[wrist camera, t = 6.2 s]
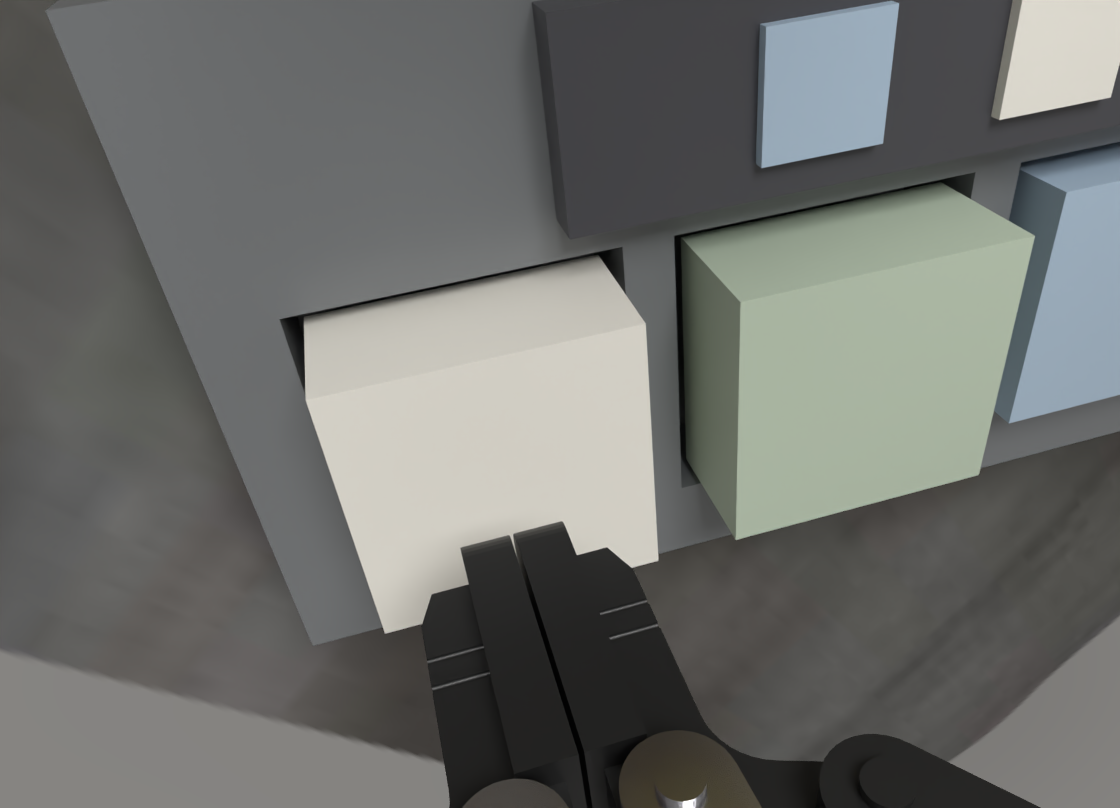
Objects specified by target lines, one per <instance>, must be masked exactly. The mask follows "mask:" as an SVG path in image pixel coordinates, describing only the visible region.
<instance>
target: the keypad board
mask: <svg viewBox="0 0 1120 808" xmlns="http://www.w3.org/2000/svg"><path fill="white" fill-rule="evenodd" d="M45 11H46V13H47V16H48V18H49V21H50V23H51V25H52V28H53V30H54V32H55V35H56V37H57V40H58V42H59V44H60V47H61V49H62V51H63V54H64V56H65V59H66V61H67V63H68V66H69V68H70V70H71V73H72V75H73V78H74V80H75V82H76V85H77V87H78V89H79V92H80V94H81V97H82V99H83V101H84V104H85V106H86V108H87V111H88V113H89V116H90V118H91V120H92V123H93V125H94V127H95V130H96V132H97V135H98V137H99V139H100V142H101V144H102V146H103V149H104V151H105V154H106V156H107V158H108V161H109V163H110V165H111V168H112V170H113V173H114V175H115V177H116V180H117V182H118V184H119V187H120V189H121V192H122V194H123V196H124V199H125V201H126V203H127V206H128V208H129V211H130V213H131V215H132V218H133V220H134V222H135V225H136V227H137V230H138V232H139V234H140V237H141V239H142V241H143V244H144V246H145V249H146V251H147V253H148V256H149V258H150V261H151V263H152V265H153V268H154V270H155V272H156V275H157V277H158V280H159V282H160V284H161V287H162V289H163V291H164V294H165V296H166V299H167V301H168V303H169V306H170V308H171V310H172V313H173V315H174V318H175V320H176V322H177V325H178V327H179V329H180V332H181V334H182V337H183V339H184V341H185V344H186V346H187V348H188V351H189V353H190V356H191V358H192V360H193V363H194V365H195V367H196V370H197V372H198V375H199V377H200V379H201V382H202V384H203V386H204V389H205V391H206V394H207V396H208V398H209V401H210V403H211V405H212V408H213V410H214V413H215V415H216V417H217V420H218V422H219V424H220V427H221V429H222V432H223V434H224V436H225V439H226V441H227V443H228V446H229V448H230V451H231V453H232V455H233V458H234V460H235V462H236V465H237V467H238V470H239V472H240V474H241V477H242V479H243V482H244V484H245V486H246V489H247V491H248V493H249V496H250V498H251V501H252V503H253V505H254V508H255V510H256V512H257V515H258V517H259V520H260V522H261V524H262V527H263V529H264V531H265V534H266V536H267V539H268V541H269V543H270V546H271V548H272V550H273V553H274V555H275V558H276V560H277V562H278V565H279V567H280V569H281V572H282V574H283V577H284V579H285V581H286V584H287V586H288V588H289V591H290V593H291V596H292V598H293V600H294V603H295V605H296V607H297V610H298V612H299V615H300V617H301V619H302V622H303V624H304V626H305V629H306V631H307V634H308V636H309V638H310V641H311V643H312V645H313V646H314V645H318V644H322V643H326V642H329V641H333V640H337V639H341V638H344V637H348V636H352V635H356V634H360V633H363V632H367V631H371V630H375V629H378V628H382V627H383V626H382V623H381V620H380V617H379V614H378V611H377V609H376V606H375V603H374V600H373V597H372V594H371V591H370V588H369V585H368V582H367V579H366V576H365V573H364V570H363V567H362V564H361V562H360V559H359V556H358V553H357V550H356V547H355V544H354V541H353V538H352V535H351V532H350V529H349V526H348V523H347V520H346V517H345V515H344V512H343V509H342V506H341V503H340V500H339V497H338V494H337V491H336V488H335V485H334V482H333V479H332V476H331V473H330V470H329V468H328V465H327V462H326V459H325V456H324V453H323V450H322V447H321V444H320V441H319V438H318V435H317V432H316V429H315V426H314V424H313V421H312V418H311V415H310V412H309V409H308V406H307V403H306V395H305V351H304V317H305V316H310V315H315V314H319V313H324V312H329V311H334V310H338V309H343V308H348V307H353V306H357V305H362V304H367V303H371V302H376V301H381V300H386V299H390V298H395V297H400V296H404V295H409V294H414V293H419V292H423V291H428V290H433V289H438V288H442V287H447V286H452V285H456V284H461V283H466V282H471V281H475V280H480V279H485V278H489V277H494V276H499V275H504V274H508V273H513V272H518V271H523V270H527V269H532V268H537V267H541V266H546V265H551V264H556V263H560V262H565V261H570V260H575V259H579V258H584V257H589V256H593V255H599V257H600V258H601V260H602V261H603V262H604V264H605V265H606V267H607V268H608V270H609V271H610V273H611V274H612V275H613V277H614V278H615V280H616V281H617V283H618V284H619V286H620V287H621V288H622V290H623V291H624V293H625V294H626V296H627V297H628V299H629V300H630V302H631V303H632V304H633V306H634V307H635V309H636V310H637V312H638V313H639V315H640V316H641V317H642V319H643V320H644V322H645V323H646V336H647V355H648V374H649V393H650V411H651V430H652V449H653V467H654V486H655V505H656V524H657V542H658V554H660V553H664V552H668V551H671V550H675V549H679V548H683V547H686V546H690V545H694V544H698V543H701V542H705V541H709V540H713V539H717V538H720V537H724V536H728V535H732V533H731V531H730V530H729V528H728V527H727V525H726V523H725V522H724V520H723V518H722V517H721V515H720V513H719V512H718V510H717V508H716V507H715V505H714V504H713V502H712V500H711V499H710V497H709V495H708V494H707V492H706V490H705V489H704V487H703V486H702V484H701V482H700V481H699V479H698V477H697V476H696V474H695V472H694V471H693V469H692V467H691V466H690V464H689V463H688V461H687V459H686V430H685V389H684V348H683V307H682V265H681V237H683V236H688V235H693V234H697V233H702V232H707V231H712V230H716V229H721V228H726V227H730V226H735V225H740V224H745V223H749V222H754V221H759V220H763V219H768V218H773V217H778V216H782V215H787V214H792V213H797V212H801V211H806V210H811V209H815V208H820V207H825V206H830V205H834V204H839V203H844V202H848V201H853V200H858V199H863V198H867V197H872V196H877V195H882V194H886V193H891V192H896V191H900V190H905V189H910V188H915V187H919V186H924V185H929V184H934V183H938V182H941V183H943V184H945V185H947V186H948V187H950V188H952V189H954V190H955V191H957V192H959V193H961V194H962V195H964V196H966V197H968V198H970V199H971V200H973V201H975V202H977V203H978V204H980V205H982V206H984V207H985V208H987V209H989V210H991V211H992V212H994V213H996V214H998V215H999V216H1001V217H1003V218H1005V219H1006V220H1008V221H1009V217H1010V212H1011V208H1012V203H1013V198H1014V194H1015V189H1016V184H1017V180H1018V175H1019V170H1020V166H1021V162H1026V161H1031V160H1035V159H1040V158H1045V157H1050V156H1054V155H1059V154H1064V153H1069V152H1073V151H1078V150H1083V149H1088V148H1092V147H1097V146H1102V145H1106V144H1111V143H1116V142H1120V0H58V1H57V2H55V3H54V4H53V5H52V6H50V7H49V8H48V9H47V10H45ZM1119 431H1120V395H1117V396H1113V397H1109V398H1105V399H1101V400H1098V401H1094V402H1090V403H1086V404H1082V405H1078V406H1074V407H1071V408H1067V409H1063V410H1059V411H1055V412H1051V413H1047V414H1044V415H1040V416H1036V417H1032V418H1028V419H1024V420H1020V421H1017V422H1013V423H1008V422H1007V421H1005V420H1004V419H1003V418H1002V417H1001V416H999V415H998V414H997V413H996V412H995V411H994V413H993V417H992V421H991V425H990V430H989V434H988V438H987V442H986V447H985V451H984V455H983V459H982V464H981V468H983V467H987V466H991V465H995V464H998V463H1002V462H1006V461H1010V460H1013V459H1017V458H1021V457H1025V456H1028V455H1032V454H1036V453H1040V452H1043V451H1047V450H1051V449H1055V448H1058V447H1062V446H1066V445H1070V444H1074V443H1077V442H1081V441H1085V440H1089V439H1092V438H1096V437H1100V436H1104V435H1107V434H1111V433H1115V432H1119Z"/></svg>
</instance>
